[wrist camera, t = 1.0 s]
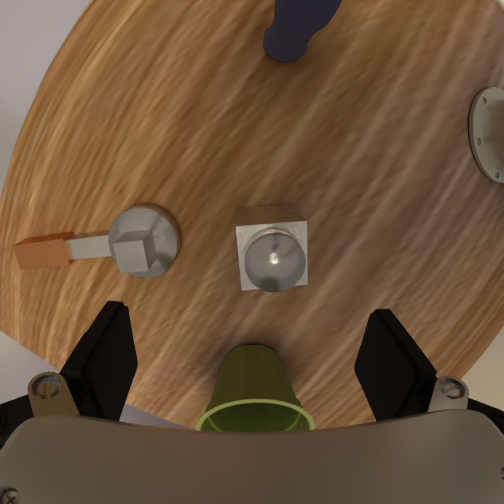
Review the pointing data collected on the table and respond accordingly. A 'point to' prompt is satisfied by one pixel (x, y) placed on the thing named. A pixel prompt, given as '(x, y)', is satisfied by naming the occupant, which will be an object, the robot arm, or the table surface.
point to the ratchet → (112, 244)
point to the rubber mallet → (296, 26)
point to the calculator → (501, 3)
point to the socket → (271, 247)
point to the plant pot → (254, 395)
